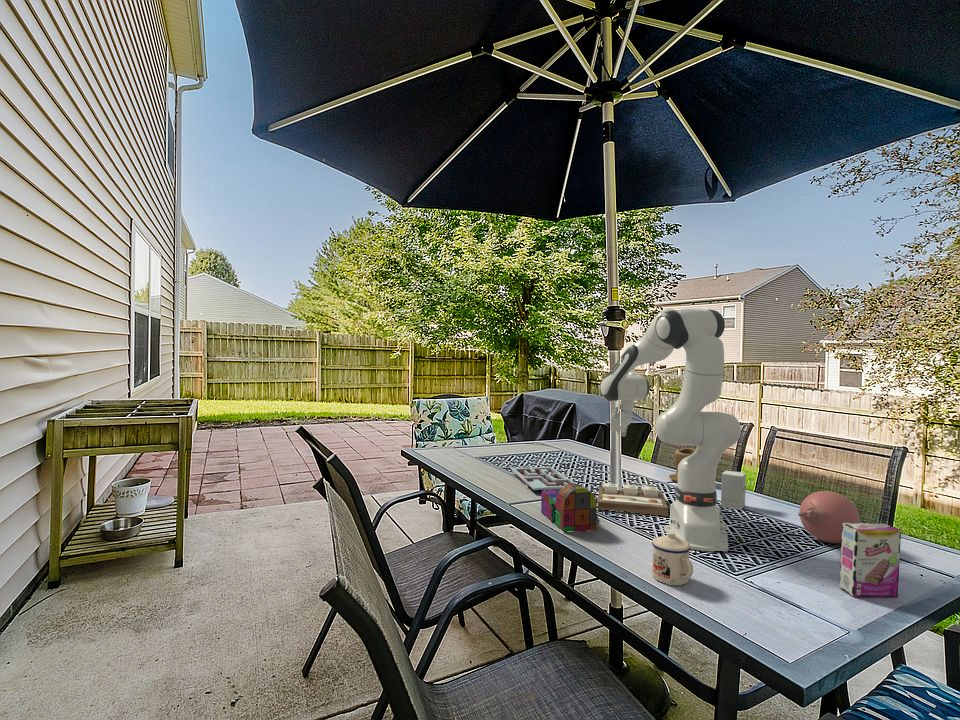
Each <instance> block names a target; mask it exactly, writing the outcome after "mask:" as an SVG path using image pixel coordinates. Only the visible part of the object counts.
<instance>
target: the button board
mask: <svg viewBox="0 0 960 720" xmlns="http://www.w3.org/2000/svg"><path fill="white" fill-rule="evenodd" d="M643 492H644V489H638V496H635V495H624V487H623V488H622V489H621V490H617V494H610V493H604V486H599V487H598V497H597V498H598V499H597V510H598V509H602V510H614V511H626V512H632V513H631V514H634V513H640V514H639V515H645V514H652V515H651V516H657V515H662V516H661V517H669V507H668V504H667V501H666V498H665V497H664V495H663V492H662V491H659V490H658V497H648V496H644V494H643Z"/></svg>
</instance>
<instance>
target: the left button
mask: <svg viewBox="0 0 960 720" xmlns="http://www.w3.org/2000/svg"><path fill="white" fill-rule="evenodd" d="M603 487H604V493H610V494H617V488H618V483H611V482H610V483H608V482H604V484H603Z"/></svg>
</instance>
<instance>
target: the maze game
mask: <svg viewBox="0 0 960 720" xmlns="http://www.w3.org/2000/svg"><path fill="white" fill-rule="evenodd" d="M511 471H512V472H513V473H514V475H515V477H517V476H518V477H519V478H520V479H521V480H522V481H523V482H524V483H523V482H522V481H521V480H520V479H519V478H518V477H517V478H518V479H519V480H520V481H521V482H522V483H523V485H524V486H525V485H526V486H527V487H528V488H527V487H526V486H525V487H526V488H527V489H532V490H534V491H539V490H541V491H544V490H545V491H547V490H560V489H561V488H562V487H563V486H557V485H564V486H565V485H567V484H571V483H575V484H577V482H574V481H573V480H572V479H570V478H569V477H567V476H566V475H564V474H563V473H561V472H559V471H558V470H557V469H555V468H553V467H552V466H535V467H532V466H530V467H511ZM548 472H551V473H552V476H551V475H550V476H549V475H548ZM537 473H540V474H537ZM555 478H557V479H555ZM545 479H546V480H545ZM548 481H549V482H548Z"/></svg>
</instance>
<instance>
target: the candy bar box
mask: <svg viewBox="0 0 960 720" xmlns="http://www.w3.org/2000/svg"><path fill="white" fill-rule="evenodd" d="M901 535H902V530H900V528H897V527H894V526H891V525H889V524H886V523H866V522H865V523H861V522H860V523H842V541H841V543H840V544H841V545H840V569H839V571H840V572H839V589H840V590H842V591H844V592H845V593H847V594H848V595H849V596H851V597H853V598H898V596H899V583H900V582H899V580H900V579H899V577H900V573H899V572H900V557H901V540H902V538H901V537H902V536H901Z"/></svg>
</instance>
